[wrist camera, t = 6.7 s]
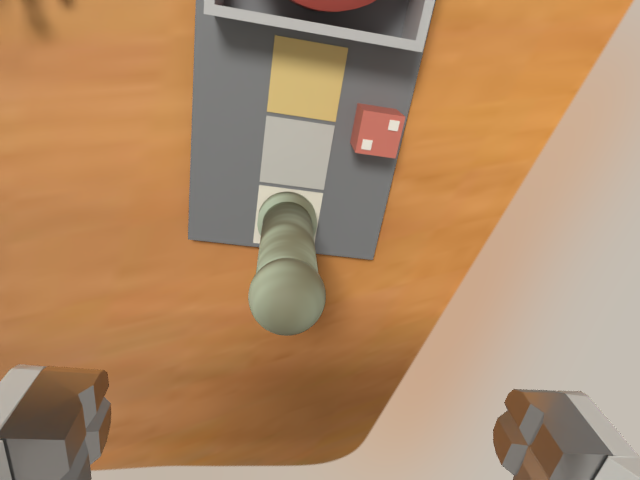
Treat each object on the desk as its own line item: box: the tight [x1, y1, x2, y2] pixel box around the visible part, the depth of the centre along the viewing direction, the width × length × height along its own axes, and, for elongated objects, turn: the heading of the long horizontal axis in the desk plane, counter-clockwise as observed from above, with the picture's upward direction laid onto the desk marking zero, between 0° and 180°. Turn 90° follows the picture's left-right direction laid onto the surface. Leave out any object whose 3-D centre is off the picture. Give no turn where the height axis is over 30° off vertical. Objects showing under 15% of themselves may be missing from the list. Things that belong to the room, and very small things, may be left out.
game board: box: [188, 0, 436, 260], centre depth 30 cm, size 16×31×5 cm, turn 171°
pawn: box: [248, 192, 326, 336], centre depth 30 cm, size 5×5×14 cm
